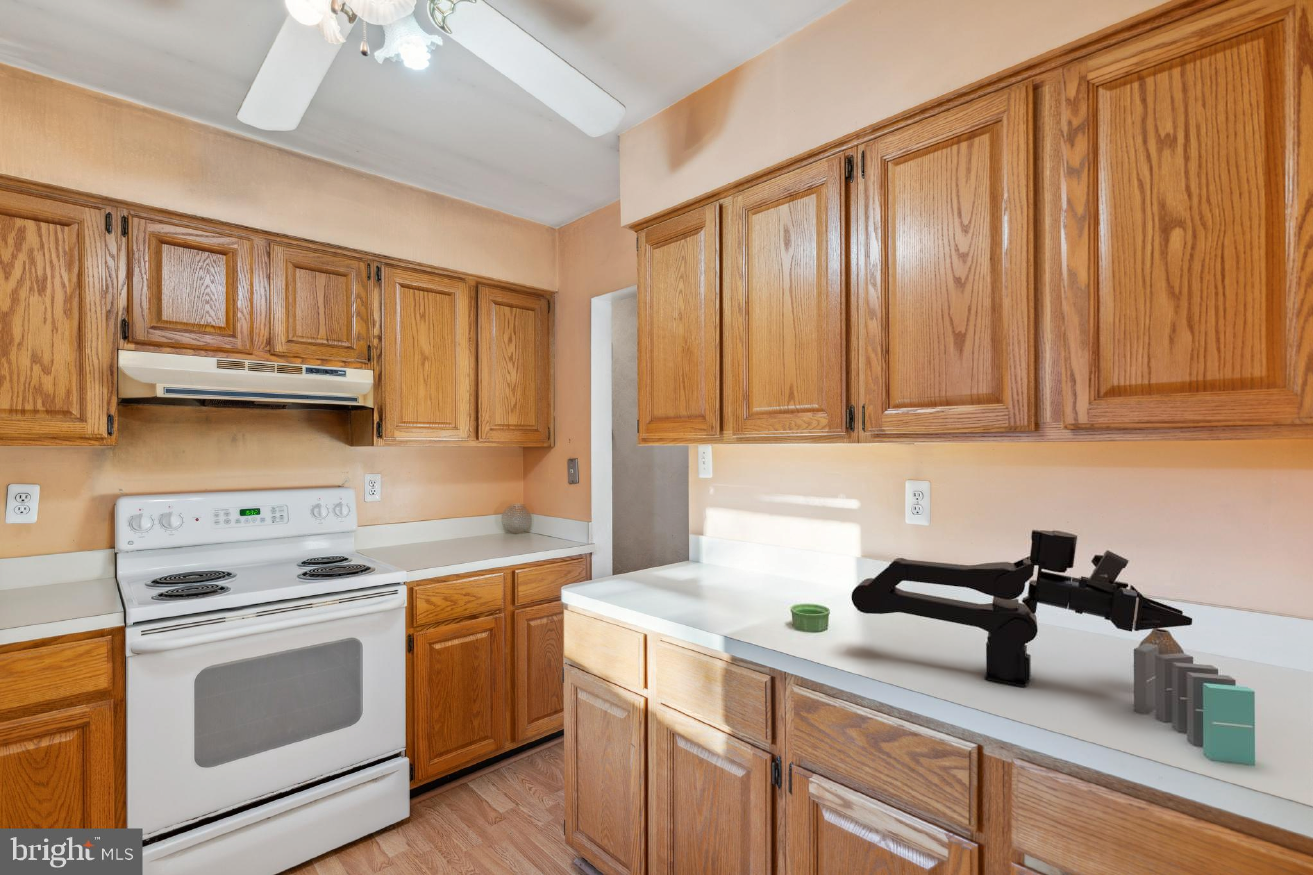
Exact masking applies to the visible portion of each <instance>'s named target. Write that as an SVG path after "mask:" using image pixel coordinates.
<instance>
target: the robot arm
mask: <svg viewBox="0 0 1313 875" xmlns="http://www.w3.org/2000/svg"><path fill="white" fill-rule="evenodd" d="M1030 534H1031V536H1030V539H1031V546H1030V553H1029V554H1030V555H1029V556H1026V557H1023V558H1021V559H1019V560H1017V561H1014V562H1009V561H998V562H997V561H996V562H985V563H980V564H970V565H969V564H967V565H966V564H958V563H949V562H948V563H947V562H935V561H928V560H927V561H925V560H916V559H915V560H914V559H906V558H903V557H898V558H895V559H893V561H891V563H889V565H888V566H887V567H885V569H883V571H881V572H880V573H878V574H877V575H876V576H875V577H874V578H873V577H868V578H866V579H864V580H862V581H861V582H859V584H857V586H856V587H855V588H854V589H853V591H851V595H850V596H851V597H850V598H851V601H852V605H853V606H854V607H855V608H856V610H857V611H859V612H860V613H862V614H863V613H864V614H870V615H871V614H875V615H877V614H878V615H884V614H894V613H902V614H907V615H912V616H917V617H923V618H928V619H933V620H938V621H944V622H949V623H955V624H959V625H965V626H969V627H974V628H979V629H981V630H984V631H985V632H987V639H986V640H987V641H986V643H985V652H986V653H985V658H986V659H985V660H986V661H985V664H986V665H985V666H986V667H985V668H986V669H985V674H984V679H985V680H987V681H991V682H992V681H993V682H997V683H1001V684H1002V683H1003V684H1007V685H1013V686H1017V687H1022V688H1026V687H1027V683H1028V682H1030V681H1031V677H1032V665H1031V663H1032V662H1031V661H1032V658H1031V657H1032V656H1031V654H1029V653H1028V645H1026V644H1029V643H1030V642H1032V641H1033V640H1035V639H1036V636H1037V635H1038V631H1039V630H1038V618H1037V616H1036V612H1037V608H1038V604H1041V605H1046V606H1051V607H1055V608H1060V609H1063V610H1069V611H1073V612H1075V614H1079V615H1083V613H1084V614H1087V615H1091V616H1095V617H1100V618H1104V620H1107V621H1110V622H1111V624H1113V626H1115V628H1116V629H1119V630H1122V631H1127V632H1130V633H1131V632H1133V630H1134V632H1139V631H1147V630H1153V629H1156V628H1158V629H1163V628H1165V629H1166V628H1176V627H1186V626H1191V625H1192V624H1193V617H1190V616H1187V615H1185V614H1184V611H1183V610H1181V609H1179V608H1175V607H1173V606H1171V605H1168V604H1164V603H1162V602H1159V601H1156V600H1154V599H1151V598H1148V597H1146V596H1144V595H1143V594H1142V593H1141V592H1139V591H1138V590H1137V589H1136V587H1134V585H1132V584H1130V586H1129V583H1128V582H1123V581H1120V580H1117V578H1118V577H1119V575H1120V573H1121V572H1122V570H1124V569H1126V567H1127V566H1128V564H1129V562H1130V560H1128V559H1127V558H1125V557H1123V556H1121V555H1118V554H1117V553H1114V552H1112V551H1111V550H1108V549H1107V550H1105V552H1104V553H1103V554H1102V555H1101V554H1094V556H1093V558H1092V559H1091V561H1090V563H1091V564H1092V565H1093V566H1094V567H1095V568H1094V569H1093V570H1092V573H1091V574H1090V576H1089V577H1088V576H1082V575H1081V577H1073V576H1070V575H1064V574H1063V573H1066V572H1067V571H1068V569H1073V568H1074V566H1075V557H1076V550H1077V543H1078V535H1077V534H1075V533H1074V534H1073V533H1070V532H1066V531H1063V530H1062V531H1061V530H1054V529H1053V530H1046V529H1045V530H1039V529H1032V530H1031V533H1030ZM1035 566H1038V567H1037V575H1036V580H1030V579H1031V578H1033V576H1034V572H1035ZM1043 570H1046V571H1043ZM1058 573H1059V574H1058ZM1061 573H1062V574H1061ZM1029 580H1030V581H1029ZM905 581H906V582H913V583H921V584H922V583H923V584H933V585H941V586H949V587H956V588H957V587H958V588H967V589H970V590H974V591H977V592H978V593H979V592H980V593H982V594H984V595H987V596H990V597H992V603H976V602H972V601H965V600H964V601H963V600H960V599H954V598H948V597H941V596H937V595H930V594H925V593H924V594H923V593H919V592H914V591H913V592H912V591H907V590H903V589H901V588H899V587H897V586H898V585H899V584H901V582H905ZM1027 582H1029V583H1028V590H1027V596H1025V597H1022V600H1021V602H1019V600H1020V599H1019V597H1020V596H1021V595H1023V593H1024V592H1025V588H1026V583H1027Z"/></svg>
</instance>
